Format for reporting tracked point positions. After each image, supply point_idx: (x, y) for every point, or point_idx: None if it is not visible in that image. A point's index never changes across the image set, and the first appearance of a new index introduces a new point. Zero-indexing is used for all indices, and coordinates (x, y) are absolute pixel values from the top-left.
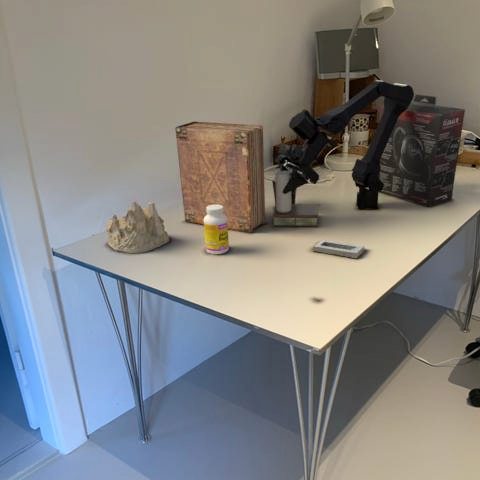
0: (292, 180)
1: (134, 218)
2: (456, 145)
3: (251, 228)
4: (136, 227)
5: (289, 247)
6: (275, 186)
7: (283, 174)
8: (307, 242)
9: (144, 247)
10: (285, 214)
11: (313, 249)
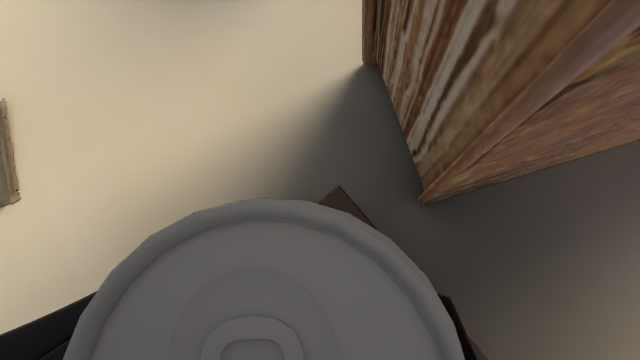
0: (19, 331)
1: None
2: None
3: (362, 48)
4: None
5: (106, 70)
6: (445, 307)
7: (167, 312)
8: (75, 164)
9: None
10: None
11: (1, 112)
